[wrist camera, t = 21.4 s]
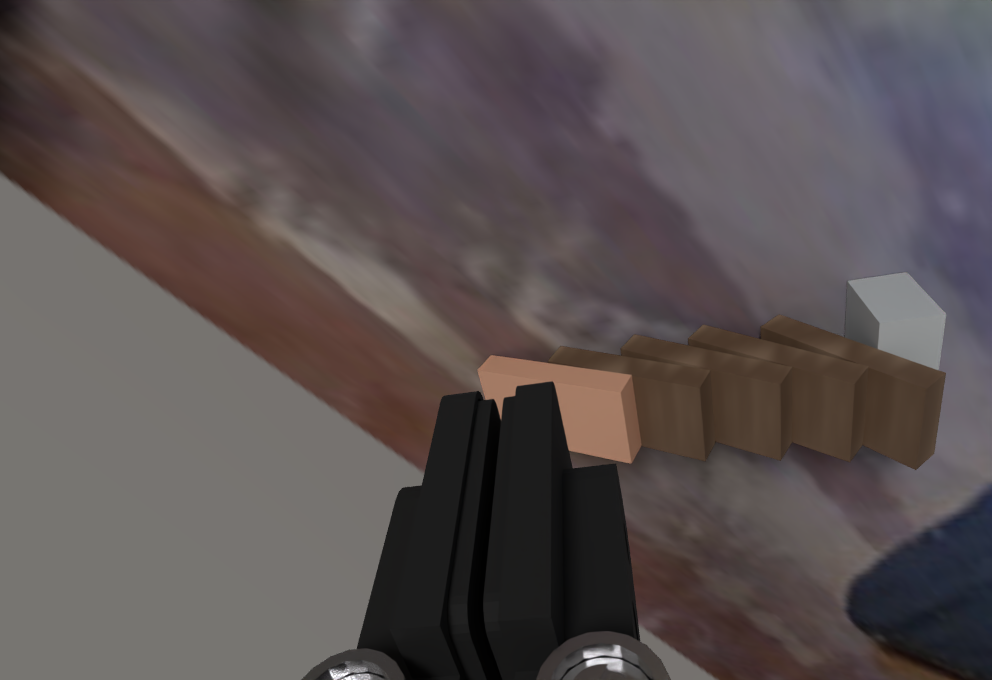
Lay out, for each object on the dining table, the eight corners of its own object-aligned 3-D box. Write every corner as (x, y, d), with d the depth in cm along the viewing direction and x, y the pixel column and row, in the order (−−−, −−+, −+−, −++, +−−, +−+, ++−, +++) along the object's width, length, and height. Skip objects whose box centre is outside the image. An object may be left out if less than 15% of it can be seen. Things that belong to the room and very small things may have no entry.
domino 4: (703, 324, 40) (868, 366, 34) (708, 393, 43) (862, 444, 37) (688, 338, 39) (854, 383, 33) (694, 408, 42) (849, 462, 36)
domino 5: (779, 314, 39) (945, 372, 33) (779, 385, 42) (934, 453, 35) (760, 326, 39) (926, 389, 32) (761, 397, 41) (915, 470, 34)
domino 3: (634, 334, 41) (792, 366, 35) (643, 402, 43) (791, 442, 38) (620, 348, 40) (780, 384, 34) (630, 416, 42) (780, 460, 37)
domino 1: (491, 355, 42) (631, 374, 38) (508, 419, 45) (641, 445, 40) (477, 370, 41) (620, 392, 37) (495, 435, 44) (631, 463, 39)
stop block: (906, 272, 38) (946, 314, 34) (894, 390, 42) (929, 440, 38) (847, 280, 38) (879, 323, 34) (841, 397, 42) (870, 446, 38)
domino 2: (560, 346, 42) (710, 370, 37) (573, 411, 44) (715, 442, 39) (547, 360, 41) (699, 387, 36) (561, 427, 43) (705, 461, 38)
